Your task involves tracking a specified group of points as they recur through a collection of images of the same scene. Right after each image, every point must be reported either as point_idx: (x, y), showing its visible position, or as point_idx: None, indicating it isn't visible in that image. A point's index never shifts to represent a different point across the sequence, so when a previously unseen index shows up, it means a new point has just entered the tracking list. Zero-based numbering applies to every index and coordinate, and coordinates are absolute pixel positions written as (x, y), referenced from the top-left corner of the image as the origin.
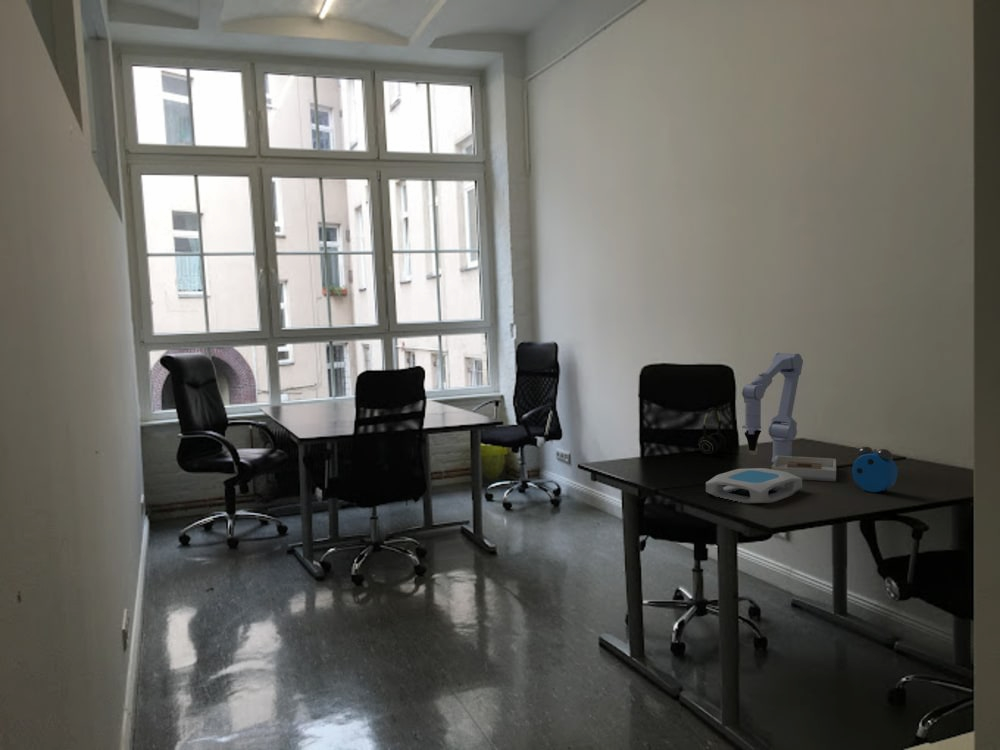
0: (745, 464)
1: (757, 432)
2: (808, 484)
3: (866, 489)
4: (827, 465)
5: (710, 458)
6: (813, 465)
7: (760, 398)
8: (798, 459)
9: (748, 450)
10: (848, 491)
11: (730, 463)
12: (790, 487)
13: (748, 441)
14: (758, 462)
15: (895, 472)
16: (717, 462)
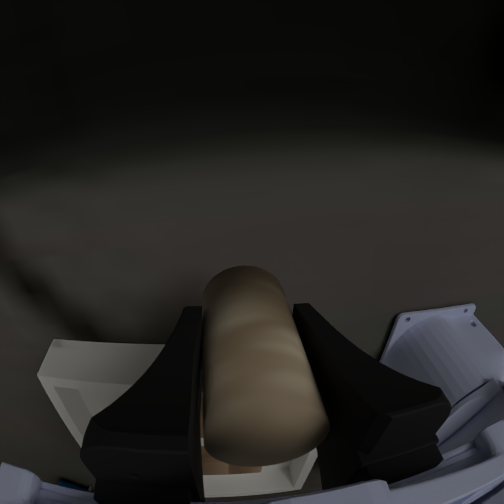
0: (351, 192)
1: (331, 482)
2: (39, 419)
3: (58, 482)
4: (292, 463)
5: (466, 6)
6: (208, 464)
7: None
8: None
9: (221, 290)
10: (38, 460)
11: (366, 97)
12: None
13: (150, 372)
14: (406, 257)
15: None
16: (378, 19)
